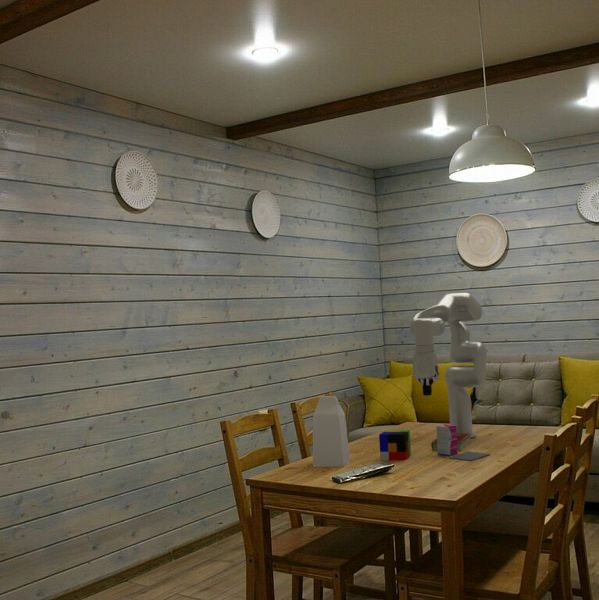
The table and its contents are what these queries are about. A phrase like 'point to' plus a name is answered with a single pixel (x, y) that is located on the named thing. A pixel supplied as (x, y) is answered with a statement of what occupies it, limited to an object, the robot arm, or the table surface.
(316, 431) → the milk
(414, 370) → the robot arm
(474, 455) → the mat
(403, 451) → the puzzle toy
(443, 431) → the supplement box
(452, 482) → the table surface
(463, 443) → the hardcover book
